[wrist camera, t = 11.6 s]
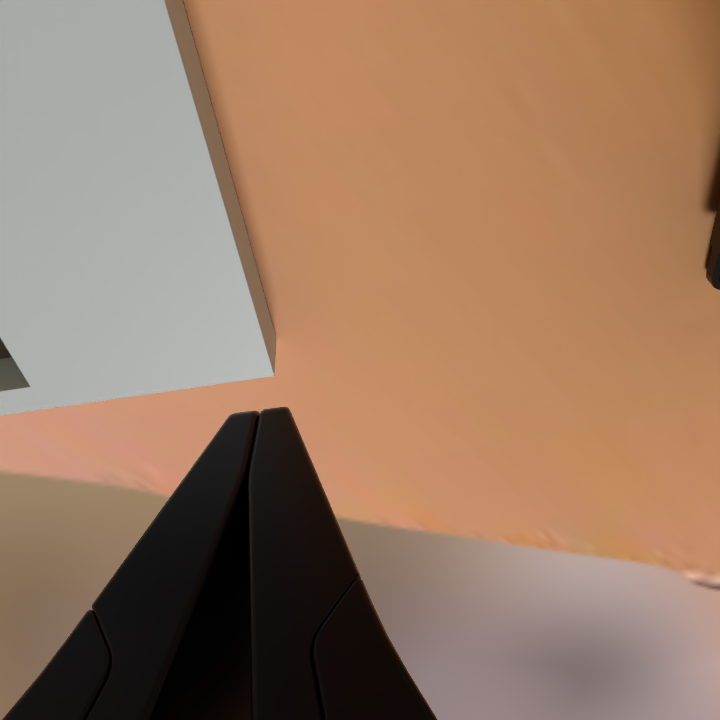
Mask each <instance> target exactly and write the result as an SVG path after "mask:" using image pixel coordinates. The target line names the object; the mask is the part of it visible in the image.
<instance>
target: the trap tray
mask: <svg viewBox="0 0 720 720" xmlns="http://www.w3.org/2000/svg"><path fill="white" fill-rule="evenodd" d="M275 354H276V335H275V332H274V328H273V324H272V321H271V317H270V314H269V310H268V306H267V303H266V299H265V295H264V292H263V288H262V285H261V281H260V277H259V274H258V270H257V267H256V263H255V259H254V256H253V252H252V249H251V245H250V241H249V238H248V234H247V230H246V227H245V223H244V220H243V216H242V212H241V209H240V205H239V202H238V198H237V194H236V191H235V187H234V184H233V180H232V176H231V173H230V169H229V165H228V162H227V158H226V155H225V151H224V147H223V144H222V140H221V137H220V133H219V129H218V126H217V122H216V119H215V115H214V111H213V108H212V104H211V100H210V97H209V93H208V90H207V86H206V82H205V79H204V75H203V72H202V68H201V64H200V61H199V57H198V54H197V50H196V46H195V43H194V39H193V35H192V32H191V28H190V25H189V21H188V17H187V14H186V10H185V7H184V3H183V0H0V415H7V414H14V413H21V412H28V411H35V410H42V409H49V408H56V407H62V406H69V405H76V404H83V403H90V402H97V401H104V400H111V399H118V398H125V397H132V396H139V395H145V394H152V393H159V392H166V391H173V390H180V389H187V388H194V387H201V386H208V385H215V384H222V383H229V382H235V381H242V380H249V379H256V378H263V377H270V376H274V371H275Z"/></svg>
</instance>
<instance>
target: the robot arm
mask: <svg viewBox="0 0 720 720" xmlns="http://www.w3.org/2000/svg"><path fill="white" fill-rule="evenodd" d="M710 245H711V246H712V251H711V255H710V259H709V264H708V268H707V272H706V278H707V279H708V281H709V282H710V283H711V284H712V286H713V287H714V288H716V289H718V290H720V200H719V205H718V209H717V213H716V218H715V222H714V227H713V231H712V235H711V240H710ZM92 609H93V610H89V611H87V612H86V614H85V615H84V616H83V618H82V619H81V621H80V622H79V623H78V625H77V626H76V628H75V629H74V630H73V632H72V633H71V634H70V636H69V637H68V638H67V640H66V641H65V642H64V644H63V645H62V646H61V648H60V649H59V650H58V652H57V653H56V654H55V655H54V657H53V658H52V659H51V661H50V662H49V663H48V665H47V666H46V667H45V669H44V670H43V671H42V673H41V674H40V675H39V676H38V677H37V679H36V680H35V681H34V682H33V683H32V685H31V686H30V687H29V688H28V690H27V691H26V692H25V693H24V694H23V695H22V697H21V698H20V699H19V700H18V701H17V703H16V704H15V705H14V706H13V707H12V709H11V710H10V711H9V712H8V713H7V715H6V716H5V717H4V718H3V720H437V718H436V716H435V715H434V713H433V712H432V710H431V708H430V707H429V705H428V703H427V702H426V700H425V699H424V697H423V695H422V694H421V692H420V691H419V689H418V687H417V686H416V684H415V682H414V681H413V679H412V678H411V676H410V674H409V673H408V671H407V669H406V667H405V666H404V664H403V662H402V660H401V659H400V657H399V655H398V654H397V652H396V650H395V648H394V646H393V645H392V643H391V641H390V639H389V637H388V635H387V633H386V631H385V629H384V627H383V625H382V623H381V621H380V619H379V617H378V614H377V612H376V610H375V608H374V606H373V604H372V601H371V599H370V597H369V595H368V592H367V590H366V587H365V585H364V583H363V581H362V580H361V577H360V574H359V572H358V569H357V567H356V564H355V562H354V560H353V557H352V555H351V553H350V550H349V548H348V546H347V544H346V541H345V539H344V536H343V534H342V532H341V529H340V527H339V524H338V522H337V520H336V517H335V515H334V513H333V510H332V508H331V506H330V503H329V501H328V499H327V496H326V494H325V492H324V489H323V487H322V484H321V482H320V480H319V477H318V475H317V473H316V470H315V468H314V466H313V463H312V461H311V459H310V456H309V454H308V452H307V449H306V447H305V444H304V442H303V440H302V437H301V435H300V433H299V430H298V428H297V426H296V423H295V421H294V419H293V416H292V414H291V412H290V410H289V408H287V407H279V408H271V409H264V410H263V411H261V412H260V413H259V412H257V411H248V412H240V413H234V414H232V415H230V416H229V417H228V418H227V420H226V421H225V422H224V424H223V425H222V427H221V428H220V429H219V431H218V432H217V434H216V435H215V436H214V438H213V439H212V440H211V442H210V443H209V445H208V446H207V447H206V449H205V450H204V451H203V453H202V454H201V456H200V457H199V458H198V460H197V461H196V462H195V464H194V465H193V467H192V468H191V469H190V471H189V472H188V474H187V475H186V476H185V478H184V479H183V480H182V482H181V483H180V485H179V486H178V487H177V489H176V490H175V491H174V493H173V494H172V496H171V497H170V498H169V500H168V501H167V502H166V504H165V505H164V507H163V508H162V509H161V511H160V512H159V513H158V515H157V516H156V518H155V519H154V521H153V522H152V523H151V525H150V526H149V527H148V529H147V530H146V531H145V533H144V534H143V536H142V537H141V538H140V540H139V541H138V543H137V544H136V545H135V547H134V548H133V549H132V551H131V552H130V554H129V555H128V557H127V558H126V559H125V560H124V562H123V563H122V564H121V566H120V567H119V569H118V570H117V572H116V573H115V574H114V576H113V577H112V578H111V580H110V581H109V583H108V584H107V585H106V587H105V588H104V589H103V591H102V592H101V593H100V595H99V596H98V598H97V599H96V600H95V602H94V603H93V605H92Z"/></svg>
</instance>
